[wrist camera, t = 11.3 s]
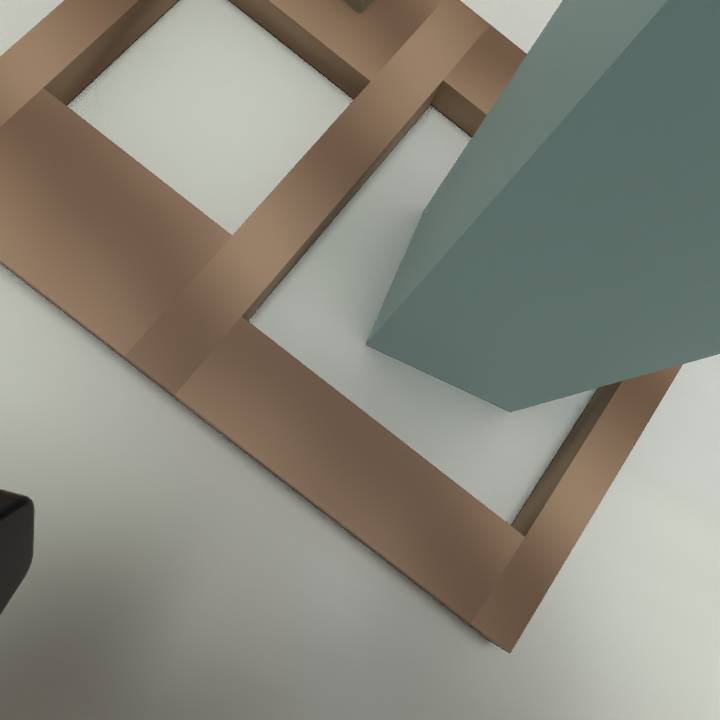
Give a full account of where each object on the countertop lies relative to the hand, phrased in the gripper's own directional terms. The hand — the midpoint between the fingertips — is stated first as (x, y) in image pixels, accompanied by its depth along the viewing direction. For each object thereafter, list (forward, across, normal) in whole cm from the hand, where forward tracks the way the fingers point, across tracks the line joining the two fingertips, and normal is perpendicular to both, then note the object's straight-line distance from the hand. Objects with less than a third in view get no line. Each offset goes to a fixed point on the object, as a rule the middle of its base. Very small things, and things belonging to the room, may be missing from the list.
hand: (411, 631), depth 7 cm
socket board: (+13, +3, -2) cm, 13 cm away
